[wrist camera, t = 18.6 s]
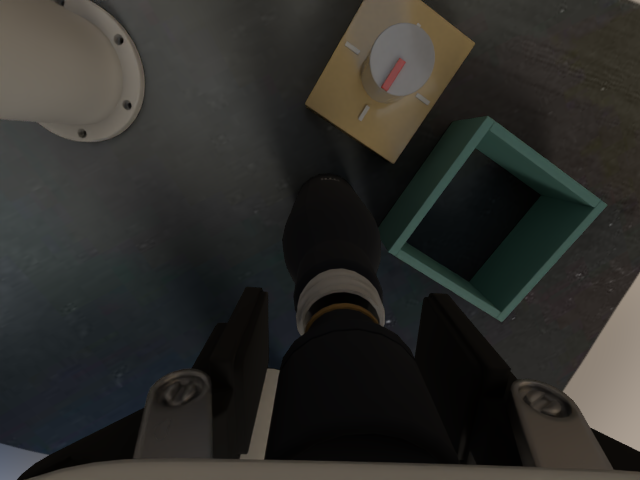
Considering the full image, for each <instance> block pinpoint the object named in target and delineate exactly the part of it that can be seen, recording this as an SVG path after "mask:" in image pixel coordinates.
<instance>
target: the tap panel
mask: <svg viewBox="0 0 640 480" xmlns="http://www.w3.org/2000/svg"><path fill="white" fill-rule="evenodd" d="M398 23H411V24H415V25H417V26H419V27H420V28H422V29H423V30H424V31H425V32H426V33H427V34H428V35H429V37H430V39H431V41H432V43H433V46H434V51H435V63H434V68H433V71H432V73H431V75H430V77H429V79H428V80H427V82H426V83H425V84H424V85H423V86H422V87H421V88H420V89H419V90H417V91H416V92H414V93H412V94H410V95H408V96H406V97H405V98H403V99H401V100H399V101H397V102H394V103H389V104H385V103H380V102H377V101H375V100H373V99H372V98H371V97H370V96H369V95H368V94H367V93H366V91H365V89H364V87H363V85H362V80H361V70H362V66H363V63H364V60H365V59H366V57H367V55H368V53H369V51H370V49H371V48H372V46H373V44H374V42H375V40H376V39H377V37H378V36H379V35H380V34H381V33H382V32H383V31H384V30H385V29H387V28H388V27H390V26H392V25H394V24H398ZM474 45H475V43H474V42H473V41H472V40H471V39H469V38H468V37H467V36H465V35H464V34H463V33H462V32H460V31H459V30H458V29H457V28H455V27H454V26H453V25H451V24H450V23H449V22H448V21H446V20H445V19H444V18H443V17H441V16H440V15H439V14H437V13H436V12H435V11H434V10H432V9H431V8H430V7H429V6H427V5H426V4H425V3H424V2H422V1H421V0H363V2H362V4H361V5H360V7H359V9H358V11H357V12H356V14H355V16H354V18H353V20H352V21H351V23H350V25H349V27H348V28H347V30H346V32H345V34H344V35H343V37H342V39H341V41H340V42H339V44H338V46H337V48H336V49H335V51H334V53H333V55H332V56H331V58H330V60H329V62H328V64H327V65H326V67H325V69H324V71H323V72H322V74H321V76H320V78H319V79H318V81H317V83H316V85H315V86H314V88H313V90H312V92H311V93H310V95H309V97H308V99H307V101H306V102H305V106H306V108H307V109H309V110H310V111H312V112H313V113H315V114H316V115H318V116H319V117H321V118H322V119H324V120H325V121H327V122H328V123H330V124H331V125H333V126H334V127H336V128H337V129H339V130H340V131H342V132H343V133H345V134H346V135H348V136H349V137H350V138H352V139H353V140H355V141H356V142H358V143H359V144H361V145H362V146H364V147H365V148H367V149H368V150H370V151H371V152H373V153H374V154H376V155H377V156H379V157H380V158H382V159H383V160H385V161H386V162H389V163H392V164H394V163H395V162H396V160H397V159H398V157H399V156H400V154H401V153H402V151H403V150H404V148H405V147H406V145H407V144H408V143H409V141H410V140H411V138H412V137H413V135H414V134H415V132H416V131H417V129H418V128H419V126H420V125H421V123H422V122H423V120H424V119H425V117H426V116H427V115H428V113H429V112H430V110H431V109H432V107H433V106H434V104H435V103H436V101H437V100H438V98H439V97H440V95H441V94H442V92H443V91H444V89H445V88H446V86H447V85H448V84H449V82H450V81H451V79H452V78H453V76H454V75H455V73H456V72H457V70H458V69H459V67H460V66H461V64H462V63H463V61H464V60H465V58H466V57H467V56H468V54H469V53H470V51H471V50H472V48H473V47H474Z"/></svg>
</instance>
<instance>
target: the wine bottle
mask: <svg viewBox="0 0 640 480" xmlns="http://www.w3.org/2000/svg"><path fill="white" fill-rule="evenodd" d="M282 242H283V251H284V258H285V263H286V266H287V269H288V271H289V273H290V275H291V277H292V279H293V281H294V282H295V284H296V285H295V291H294V305H295V311H296V313H297V314H296V320H297V329H298V331H299V333H300V335H301V337H299V338H298V339H297V340H295V341H294V343H293V344H292V345H291V347H290V348H289V350H288V351H287V353H286V354H285V356H284V357H283V360H282V364H281V368H280V372H279V376H278V382H277V388H276V393H275V399H274V405H273V411H272V416H271V422H270V428H269V434H268V439H267V445H266V451H265V457H264V460H306V461H350V462H390V463H426V464H460V462H459V459H458V457H457V454H456V452H455V450H454V447H453V445H452V443H451V440H450V438H449V436H448V434H447V431H446V429H445V427H444V425H443V422H442V420H441V418H440V416H439V413H438V411H437V409H436V406H435V404H434V402H433V400H432V397H431V395H430V393H429V391H428V388H427V386H426V384H425V382H424V379H423V377H422V375H421V372H420V370H419V368H418V366H417V363H416V361H415V359H414V357H413V354H412V352H411V350H410V348H409V347H408V346H407V345H406V344H405V343H404V342H403V341H402V340H401V338H400V337H399V336H398V335H397V334H395V333H394V332H392V331H390V330H388V329H386V328H385V327H384V324H385V310H384V307H383V305H382V304H383V301H382V288H381V286H380V283H379V281H378V278H377V276H376V273H377V270H378V267H379V264H380V258H381V243H380V232H379V229H378V227H377V224H376V221H375V219H374V217H373V216H372V215H371V213H370V212H369V210H368V209H367V208H366V206H365V205H364V204H363V202H362V201H361V199H360V198H359V197H358V195H357V194H356V193H355V191H354V190H353V188H352V187H351V186H350V185H349V183H348V182H347V181H346V180H344V179H343V178H341V177H339V176H337V175H333V174H319V175H317V176H315V177H312V178H310V179H309V180H308V181H307V182H306V183H305V184H304V185H303V186H302V188H301V190H300V191H299V193H298V196H297V198H296V201H295V203H294V206H293V208H292V210H291V213H290V215H289V218H288V220H287V223H286V225H285V230H284V234H283V239H282Z"/></svg>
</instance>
